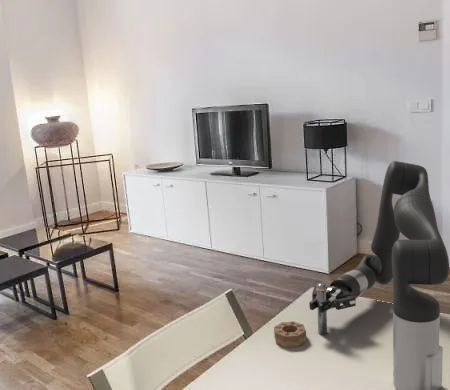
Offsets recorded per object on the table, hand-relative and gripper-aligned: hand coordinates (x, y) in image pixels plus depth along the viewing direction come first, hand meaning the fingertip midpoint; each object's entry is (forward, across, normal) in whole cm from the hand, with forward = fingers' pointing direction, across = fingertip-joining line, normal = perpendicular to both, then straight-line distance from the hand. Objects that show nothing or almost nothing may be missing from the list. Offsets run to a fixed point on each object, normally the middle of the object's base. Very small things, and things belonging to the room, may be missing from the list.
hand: (315, 307), depth 130 cm
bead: (+5, -5, +8) cm, 11 cm away
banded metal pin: (-3, 0, +8) cm, 9 cm away
